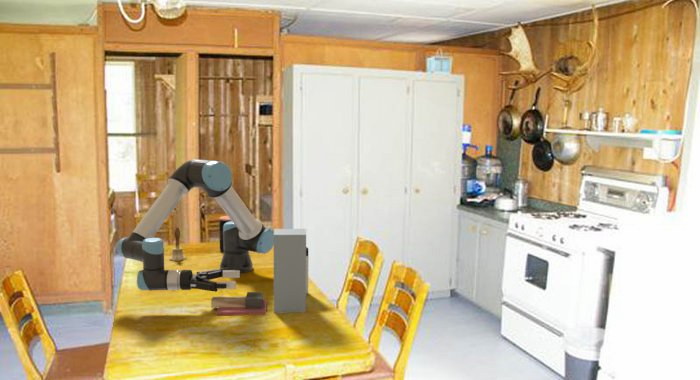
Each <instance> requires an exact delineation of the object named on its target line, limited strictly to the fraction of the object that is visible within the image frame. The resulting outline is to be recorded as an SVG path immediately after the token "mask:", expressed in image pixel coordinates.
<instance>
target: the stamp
mask: <svg viewBox="0 0 700 380" xmlns="http://www.w3.org/2000/svg"><path fill="white" fill-rule="evenodd" d="M263 300H264V291H247V293H246V296H212V298H211V300H210V302H211V303H210V305H211V308H218V307H245V309H262V304H263Z"/></svg>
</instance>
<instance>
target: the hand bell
mask: <svg viewBox="0 0 700 380" xmlns="http://www.w3.org/2000/svg"><path fill="white" fill-rule="evenodd" d="M180 237H181V230H180V227H178V226H177V227H175V229H174V238H175V247H173V248H172V253H171V255H170V257H169V258H168V259H169V261H174V262H176V261H177V262H178V261H184V260H187V257H186V255H185V254H184V253H183V252H184V251H183V247H181V246H180Z"/></svg>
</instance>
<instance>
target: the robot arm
mask: <svg viewBox="0 0 700 380" xmlns="http://www.w3.org/2000/svg"><path fill="white" fill-rule="evenodd" d="M232 175H233V172H232V170H231V167H229V165H228V164H226V163H225V162H223V161H219V160H208V159H199V158H198V159H197V158H193V159H189V160H187V161H185V162H184V163H182V164H181V165H180V166H178V167H177V168H176V169H175V171H173V173H172V174H171V176H169V178H168V179H167V185H166V186H165V188H164V189H163V190H162V191H161V193H160V194H159V195H158V197H157V199H156V200H154V202H153V204H152V205H151V206H150V207H149V209H148V211H147V212H146V213H145V215H144V216H143V217H142V219H141V220H140V221H139V222H138V224H137V225H136V227H135V228H134V229H133V231H132V232H131V234H130V235H129V236H128V237H122V238H121V239H119V241H118V242H117V244H116V251H117V254H118V255H119V256H121V257H123V258H125V259H131V260H133V261H134V260H135V261H136V262H137V261H138V262H141V263H142V266H143V267H142V269H141V270H139V271H138V273H137V274H136V286H137V289H138V290H139V291H172V292H175V291H179V290H181V291H190V290H192V289H196V290H202V291H208V292H215V293H216V292H217V293H218V290H236V289H237V281H235V280H234V281H233V280H226V281H224V280H222V281H219V280H218V281H217V282H216V281H213V280H214V279H218V278H223V279H232V278H233V279H239V278H240V277H241V274H244V273H248V272H250V271H252V270H253V269H254V267H253V265H254V263H253V261H252V257H251V255H250V252H251V253H252V252H253V253H257V254H267V253H270V252H271V251H272V249H273V248H274V230H273V229H271V228H270V227H265V225H264V224H263V222H262V221H261V220H260V219H257V218H255V217H254V215H253V214H252V212H251V211H250V210H249V208H248V207H247V206H246V204H245V203H244V202H243V200H242V199H241V197H240V196H239V194H238V193H237V192H236V190H235V189H234V187H233V176H232ZM194 188H198V189H202V190H203V191H204V192H205V193H206V196H208V197H209V198H211V199H215V201H216V202H217V203H218V205H219V206H220V207H221V209H222V210H223V211H224V213H225V214H226V216H228V217H229V218H230V219H231V220H232V221H230V222H226V223H225V224H224V226H223V247H224V252H223V255H222V257H221V262H220V264H219V268H218V269H217V268H216V269H210V270H204V271H203V270H202V271H201V270H200V271H199V270H198V271H196V274H195V273H193V271H192V270H191V269H181V270H180V269H165V247H164V241H163V239H161V238H160V237H155V235H156V234H157V232H159V230H160V228H161V227H162V226H163V224H164V223H165V222H166V220H167V219H168V217H169V216H170V215H171V213H172V212H173V211H174V209H175V207H176V206H177V205H178V203H179V201H180V200H181V199H182V198H183V196H184V195H187V194H189V192H190V191H191V190H193V189H194Z"/></svg>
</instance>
